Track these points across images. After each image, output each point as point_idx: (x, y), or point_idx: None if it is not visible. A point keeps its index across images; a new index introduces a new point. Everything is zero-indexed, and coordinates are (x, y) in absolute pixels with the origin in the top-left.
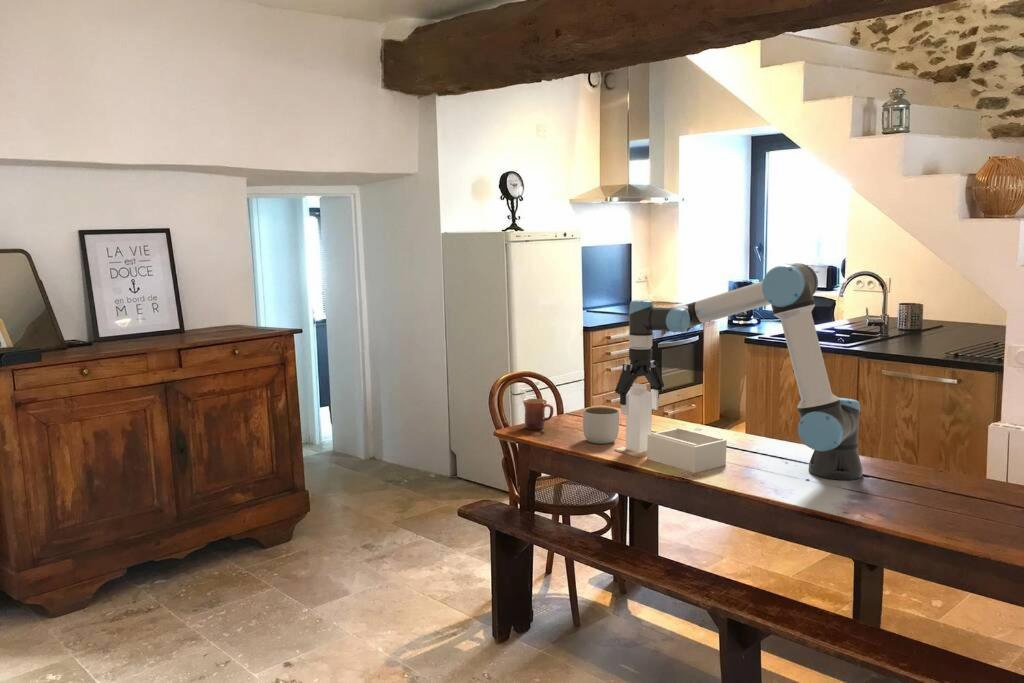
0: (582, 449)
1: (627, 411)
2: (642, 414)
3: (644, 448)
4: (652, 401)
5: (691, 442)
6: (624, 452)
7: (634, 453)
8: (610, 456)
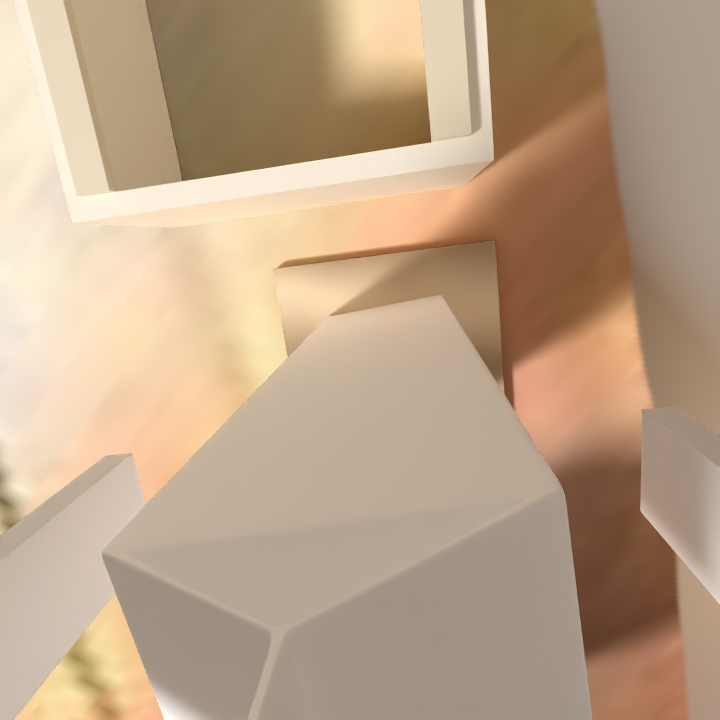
0: (653, 553)
1: (695, 429)
2: (433, 363)
3: (389, 307)
4: (90, 578)
5: (106, 57)
6: (502, 364)
7: (478, 298)
8: (625, 352)
